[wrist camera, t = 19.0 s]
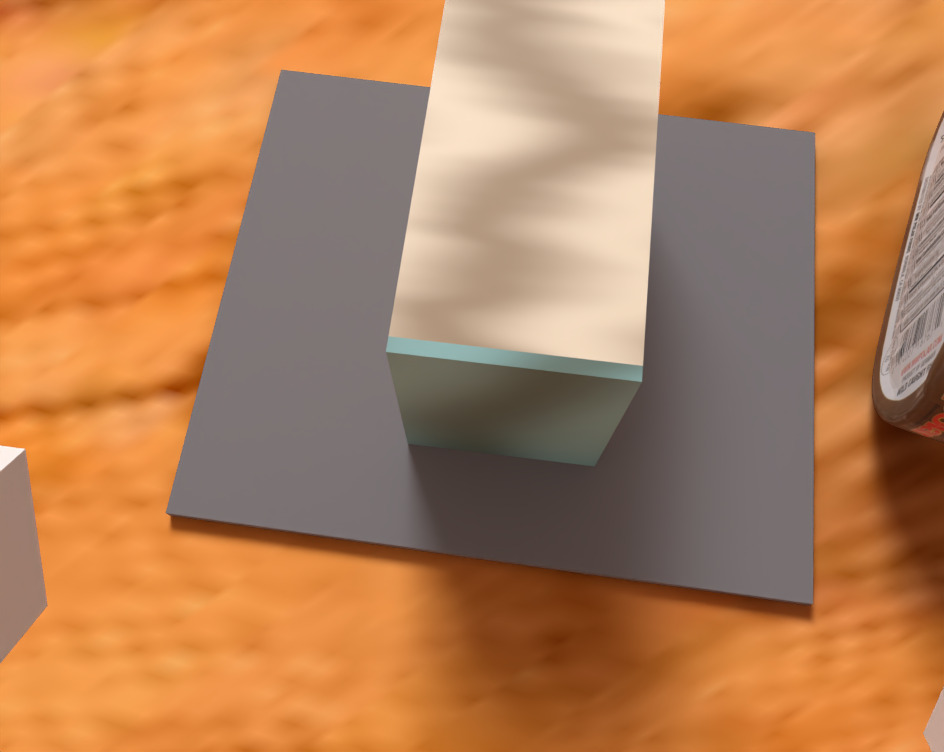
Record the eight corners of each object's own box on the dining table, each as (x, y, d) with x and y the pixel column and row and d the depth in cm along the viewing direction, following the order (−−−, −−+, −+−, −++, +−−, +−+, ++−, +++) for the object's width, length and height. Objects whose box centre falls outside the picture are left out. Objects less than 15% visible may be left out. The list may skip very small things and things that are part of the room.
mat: (810, 139, 32) (815, 132, 32) (808, 605, 27) (813, 604, 26) (283, 76, 33) (281, 69, 33) (169, 515, 28) (165, 512, 27)
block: (666, -21, 24) (641, 381, 20) (619, 148, 32) (594, 466, 28) (452, -43, 24) (385, 352, 20) (455, 130, 32) (408, 443, 28)
